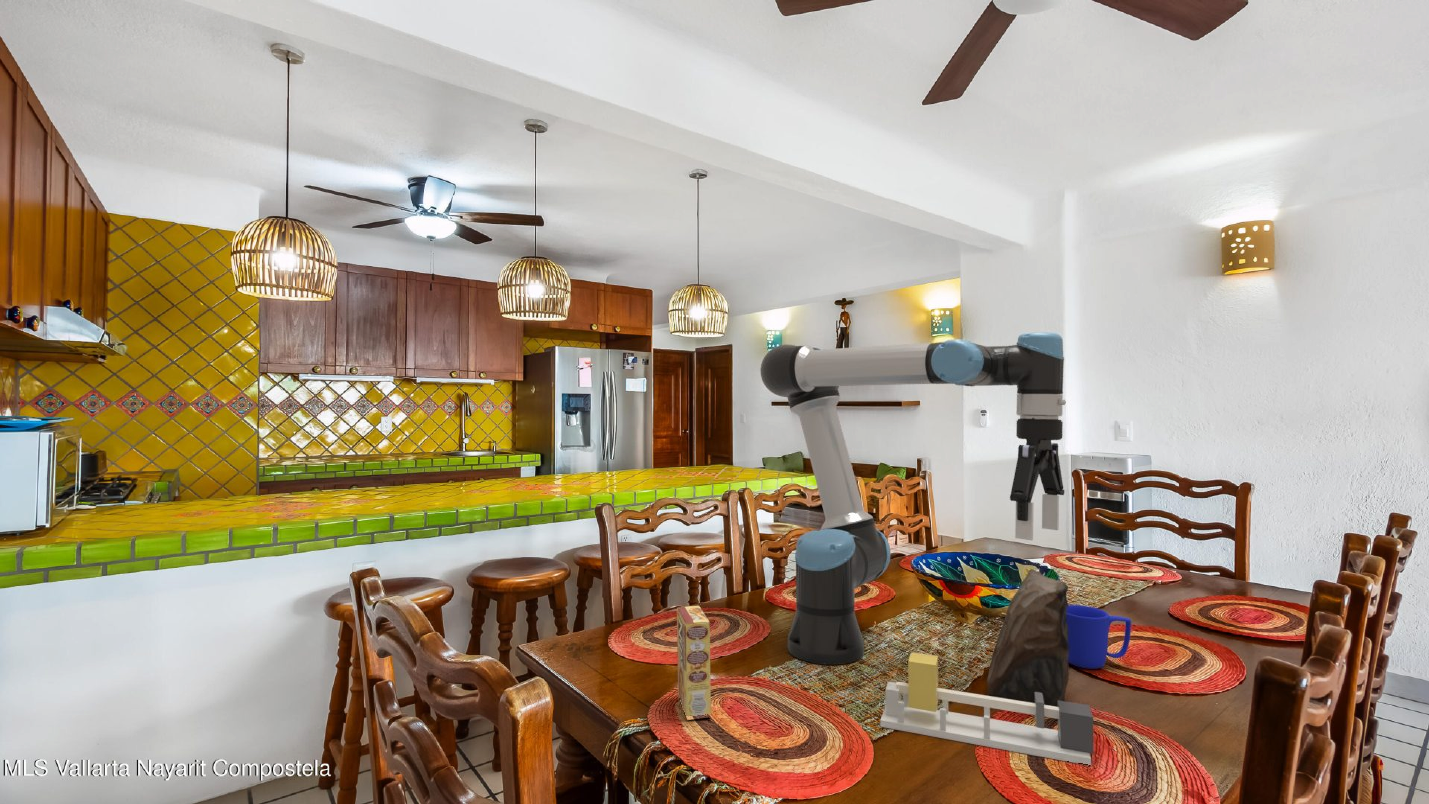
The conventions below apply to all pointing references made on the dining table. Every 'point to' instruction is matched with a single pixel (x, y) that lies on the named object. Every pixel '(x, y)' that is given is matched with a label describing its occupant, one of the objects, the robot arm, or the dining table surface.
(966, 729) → the comb rail
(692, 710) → the candy box
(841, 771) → the dining table surface
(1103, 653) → the mug
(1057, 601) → the brown rock
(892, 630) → the dining table surface
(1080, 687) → the dining table surface
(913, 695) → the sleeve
